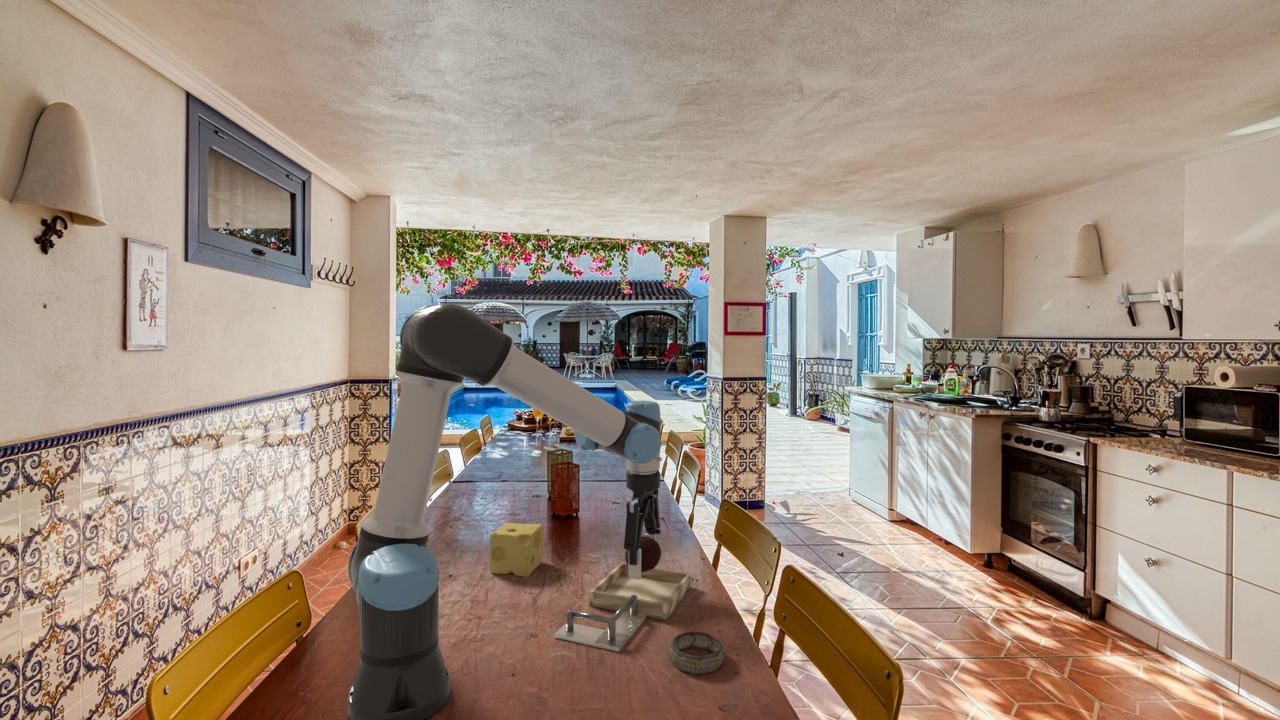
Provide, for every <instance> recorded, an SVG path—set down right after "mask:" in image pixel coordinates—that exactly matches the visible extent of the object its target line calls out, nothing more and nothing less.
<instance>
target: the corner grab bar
mask: <svg viewBox="0 0 1280 720" xmlns="http://www.w3.org/2000/svg"><path fill="white" fill-rule="evenodd" d="M629 606H630V610H628V609H627V608H628V607H629ZM565 613H566V616H565V617H566V622H565V624H563V625H561V627H560V628H558V630H557V631H555V633H554V638H555V639H559V640H562V641H568V642H572V643H577V644H581V645H584V646H585V645H586V646H591V647H594V648H595V647H596V648H600V649H604V650H608V651H612V652H616V653H617V652H618V653H619V652H620V651H621V650H622V648H623V647H624V646H625V645H626V643H627V642H628V641H629V639H631V637H632V636H633V635H634V633H635V632H636V631H637V630H638V629H637V628H639V627H640V626H641V624H643V622H644V621H645V620H646V619H647V618H648V617H647V613H643V612H638V611H637V596H636V595H631V596H630V598H629V599H628V601H627V602H626V603H625V604H624V605H623V606H622V607H621V608H620V609H619V610H618V611H616V612H615V614H614V615H613V616H612V617H607V616H602V615H599V614H598V615H597V614H592V613H588V612H587V613H586V612H583V611H578V610H574V609H573V610H572V609H567V610H566V612H565ZM574 617H576V618H579V619H586V620H590V621H595V622H600V623H604V624H605V623H606V624H608V625H607V628H606V629H601V628H596V627H592V626H588V625H585V624H584V625H583V624H578V623H574V621H575V619H574Z"/></svg>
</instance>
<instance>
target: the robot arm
mask: <svg viewBox="0 0 1280 720" xmlns="http://www.w3.org/2000/svg"><path fill="white" fill-rule="evenodd" d="M399 343H400V351H399V356H398V361H397V367H396V369H395V370H396V371H395V373H396V375H397V376H398V378H400V380H401V383H402V384H401V390H400V394H399V399H398V403H397V407H396V412H395V416H394V421H393V425H392V429H391V433H390V434H391V435H390V439H389V443H388V448H387V453H386V457H385V461H384V465H383V470H382V475H381V478H380V484H379V488H378V492H377V497H376V502H375V504H374V505H375V506H374V510H373V514H372V515H371V516H370V517H369V516H368V518H367V519H365V520H363V522H362V523H361V526H360V530H359V535H358V539H357V542H356V543H355V544H354V546H353V547H352V550H351V553H350V555H349V560H348V567H347V571H348V577H349V580H350V583H351V585H352V588H353V592H354V596H355V599H356V603H357V607H358V615H359V616H358V617H359V619H358V620H359V663H358V665H357V669H356V671H355V674H354V677H353V682H352V685H351V688H350V690H349V693H348V698H347V714H348V718H349V720H424V719H425V720H426V719H427V720H428V717H429V718H430V717H432V716H433V715H435V714H436V713H437V712H439V711H440V710H441V709H442V708H443V707H444V706H445V705H446V703H447V702H448V700H449V698H450V695H451V675H450V673H449V670H448V669H447V667H446V665H445V661H444V658H443V655H442V652H441V649H440V645H439V582H440V570H439V569H440V568H439V566H438V559H437V556H436V555H435V553H434V552H433V551H432V550H431V549H429V548H427V547H428V543H429V542H428V541H429V538H430V533H431V529H430V527H429V526H428V525H427V523H426V521H425V519H424V518H425V515H426V510H427V506H428V505H427V504H428V502H429V501H428V500H429V497H430V492H431V488H432V483H433V478H434V474H435V469H436V464H437V460H438V455H439V451H440V448H441V442H442V437H443V433H444V428H445V424H446V419H447V414H448V410H449V405H450V401H451V397H452V392H453V391H454V390H456V389H457V388H459V387H460V386H462V385H463V382H464V378H465V379H468V380H470V381H471V382H474V383H476V384H478V385H479V386H481V387H488V386H490V385H491V386H493V387H496V388H497V389H499V390H501V391H503V392H505V393H506V394H507V395H510V396H512V397H513V398H515V399H517V400H519V401H520V402H523V403H525V404H526V405H528V406H530V407H532V408H533V409H535V410H537V411H539V412H541V413H543V414H544V415H546V416H548V417H550V418H552V419H553V420H555V421H557V422H558V423H561V424H563V425H565V426H566V427H569V428H570V429H572V430H574V439H575V443H576V445H577V446H578V448H579V449H580V450H582V451H585V452H586V451H592V452H594V451H597V450H599V451H600V450H602V451H605V452H607V453H610V454H612V455H615V456H619V457H621V458H623V459H625V460H626V461H625V467H626V470H627V471H626V474H625V477H626V478H625V480H626V488H627V489H628V490H630V491H631V492H632V498H631V501H630V502H629V501H627V502H626V518H625V527H624V528H625V530H624V541H623V549H624V550H626V549H627V550H628V578H632V579H638V580H640V579H641V549H639V548H640V541H641V536H645V537H650V538H652V539H654V540H655V541H656V542H657V535H660V534H661V529H660V528H661V523H660V522H661V521H660V510H659V509H660V507H659V489H660V487H661V473H660V471H659V470H660V468H661V467H660V466H661V462H662V461H663V458H662V457H661V447H662V436H661V423H662V421H661V408H660V407H661V406H660V404H658V402H656V401H652V400H632V401H628V402H627V403H626V406H625V407H626V408H625V411H622V410H621V409H619V408H617V407H615V406H613V405H612V404H611V403H609V402H607V401H605V400H604V399H602V398H600V397H599V396H597V395H596V394H594V393H593V392H590V391H589V390H587V389H585V388H584V387H582V386H581V385H580V384H577V383H576V382H574V381H572V380H571V379H569V378H568V377H566V376H564V375H562V374H560V373H559V372H557V371H556V370H555V369H552V368H550V366H547V365H546V364H544V363H542V362H541V361H539V360H537V358H534V357H532V356H531V355H529V354H528V353H526V352H524V351H523V350H522V349H520V348H517V347H516V346H515V342H514V338H512V337H511V336H510V335H508V334H506V333H505V332H503V331H501V330H500V329H499V328H497V327H495V326H494V325H493V324H491V323H490V322H488V321H487V320H485V319H484V318H482V317H481V316H480V315H478V314H477V313H475V312H473V311H472V310H471V309H468V308H467V307H465V306H463V305H459V304H455V303H442V304H431V305H425V306H423V307H420V308H418V309H417V310H415V311H414V312H412V313H411V314H409V316H408V317H407V319H406V320H405V321H404V322H403V324H402V327H401V329H400V333H399ZM643 528H645V532H646V533H643ZM642 533H643V534H644V535H642Z"/></svg>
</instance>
